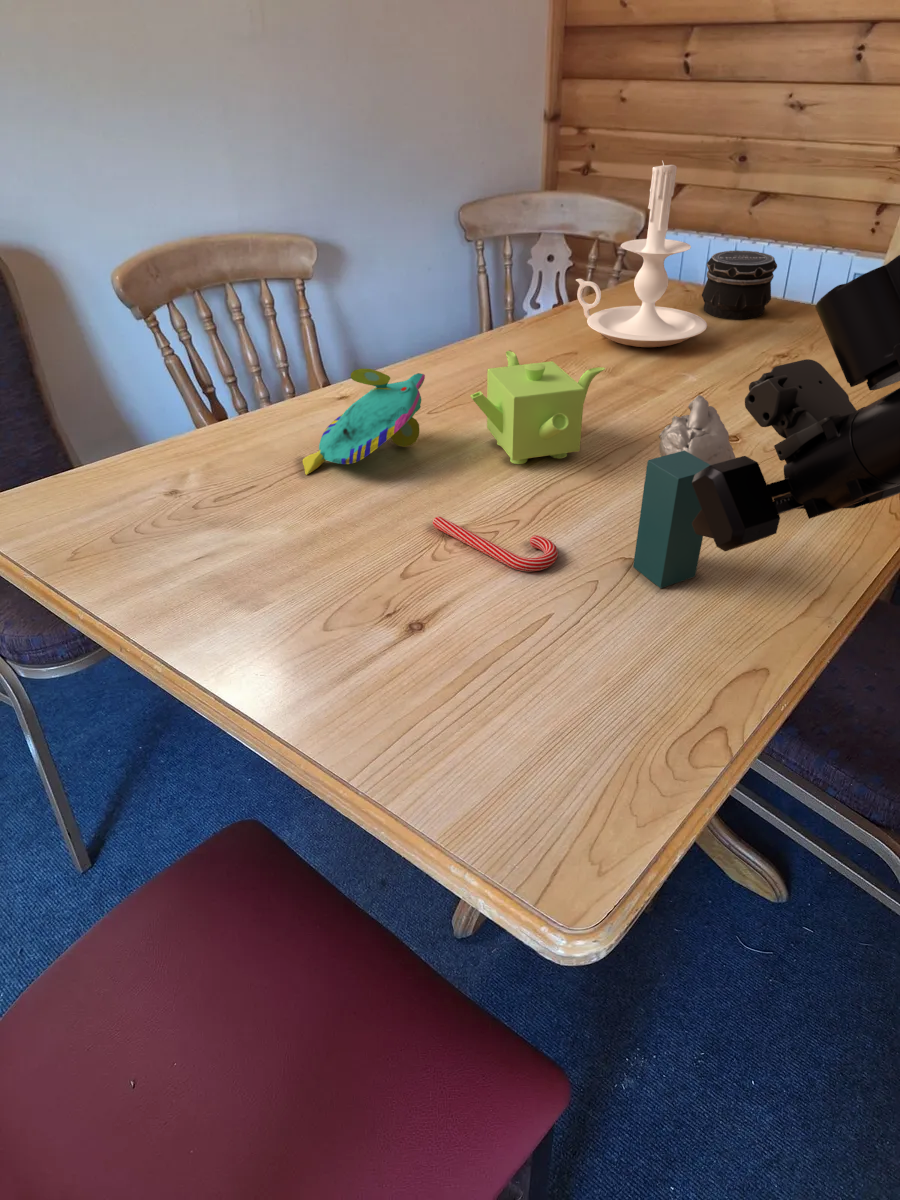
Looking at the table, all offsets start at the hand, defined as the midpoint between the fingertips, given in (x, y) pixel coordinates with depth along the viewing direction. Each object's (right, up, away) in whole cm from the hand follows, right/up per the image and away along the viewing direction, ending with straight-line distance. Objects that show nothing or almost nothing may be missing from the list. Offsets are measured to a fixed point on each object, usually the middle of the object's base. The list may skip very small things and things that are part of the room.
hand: (736, 515), depth 67 cm
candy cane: (-20, -2, +16) cm, 26 cm away
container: (+30, +49, +84) cm, 102 cm away
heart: (+3, +4, +23) cm, 24 cm away
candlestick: (+8, +40, +72) cm, 83 cm away
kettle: (-14, +13, +36) cm, 41 cm away
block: (-3, -4, +11) cm, 13 cm away
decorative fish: (-35, +11, +35) cm, 51 cm away
